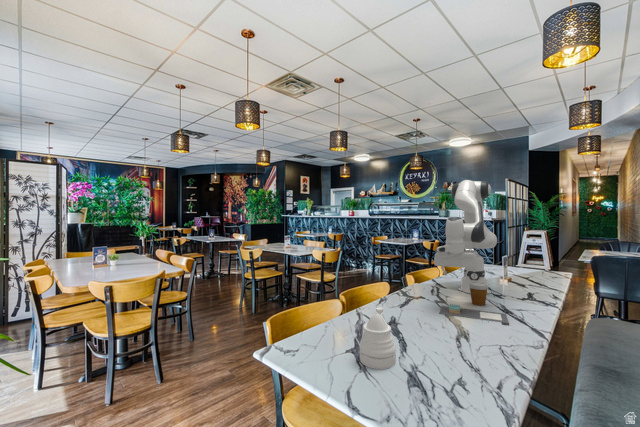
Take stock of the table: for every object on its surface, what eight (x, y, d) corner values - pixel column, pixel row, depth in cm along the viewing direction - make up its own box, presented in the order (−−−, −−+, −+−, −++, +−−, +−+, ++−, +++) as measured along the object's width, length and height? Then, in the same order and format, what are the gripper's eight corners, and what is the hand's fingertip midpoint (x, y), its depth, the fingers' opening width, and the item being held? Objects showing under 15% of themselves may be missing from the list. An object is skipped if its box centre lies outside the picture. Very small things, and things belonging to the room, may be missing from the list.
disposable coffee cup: (483, 303, 170) (483, 282, 169) (491, 308, 160) (491, 286, 160) (466, 302, 170) (465, 281, 170) (473, 308, 161) (472, 286, 161)
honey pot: (370, 348, 117) (370, 302, 117) (402, 358, 109) (401, 308, 108) (352, 361, 107) (352, 311, 107) (385, 373, 99) (384, 318, 98)
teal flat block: (449, 308, 158) (449, 304, 158) (460, 310, 155) (460, 305, 155) (448, 312, 152) (448, 308, 151) (459, 314, 149) (459, 309, 149)
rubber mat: (441, 307, 163) (441, 305, 163) (506, 315, 149) (506, 313, 149) (438, 315, 150) (438, 313, 150) (508, 325, 137) (508, 323, 137)
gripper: (477, 248, 152) (477, 276, 151) (434, 247, 161) (435, 272, 161) (477, 250, 146) (478, 278, 146) (433, 248, 155) (433, 275, 155)
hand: (455, 275), depth 153 cm, fingers open, 8 cm apart
